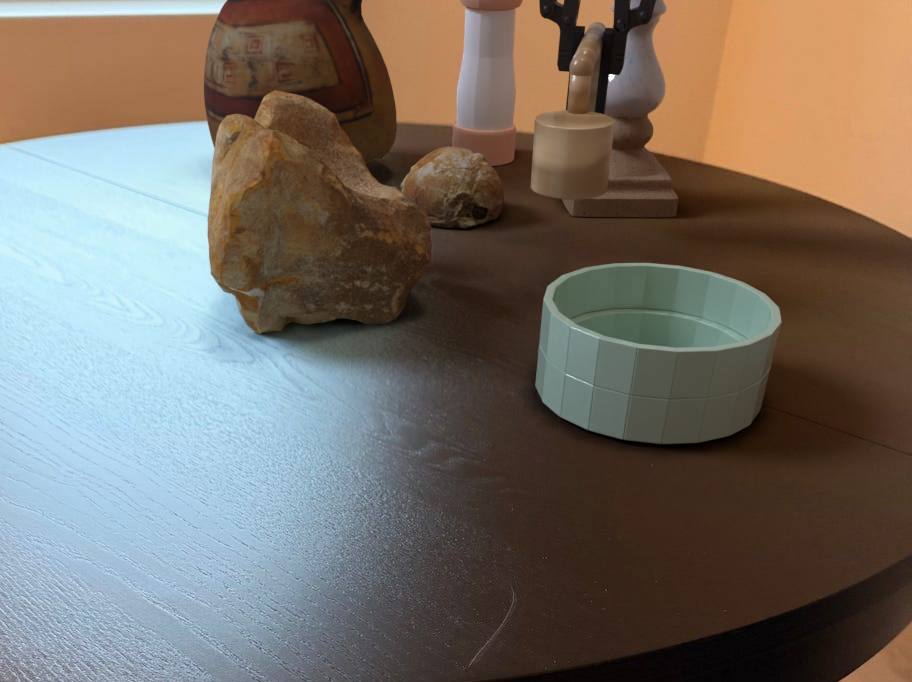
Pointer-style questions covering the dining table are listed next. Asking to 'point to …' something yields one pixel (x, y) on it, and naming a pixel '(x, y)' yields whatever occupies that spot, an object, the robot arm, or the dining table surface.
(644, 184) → the candle holder
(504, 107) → the pepper shaker
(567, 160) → the hooked weight
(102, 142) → the dining table surface
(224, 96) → the reddish ceramic vase
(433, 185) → the bread roll
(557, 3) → the robot arm
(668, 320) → the mixing bowl
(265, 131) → the rough brown rock
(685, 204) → the dining table surface
